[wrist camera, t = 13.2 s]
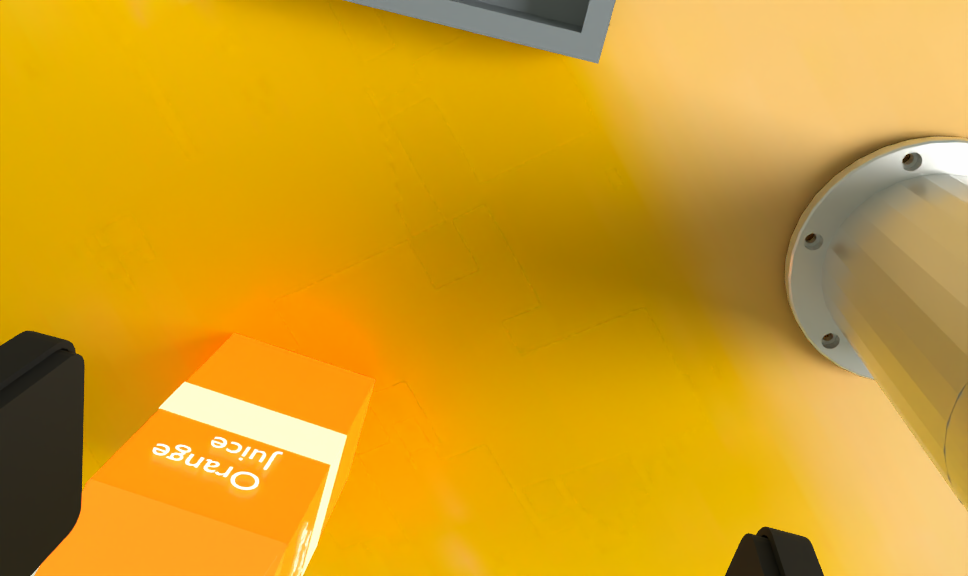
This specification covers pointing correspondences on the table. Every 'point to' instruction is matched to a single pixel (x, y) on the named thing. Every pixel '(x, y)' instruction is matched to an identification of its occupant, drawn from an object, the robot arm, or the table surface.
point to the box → (518, 21)
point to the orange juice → (224, 472)
